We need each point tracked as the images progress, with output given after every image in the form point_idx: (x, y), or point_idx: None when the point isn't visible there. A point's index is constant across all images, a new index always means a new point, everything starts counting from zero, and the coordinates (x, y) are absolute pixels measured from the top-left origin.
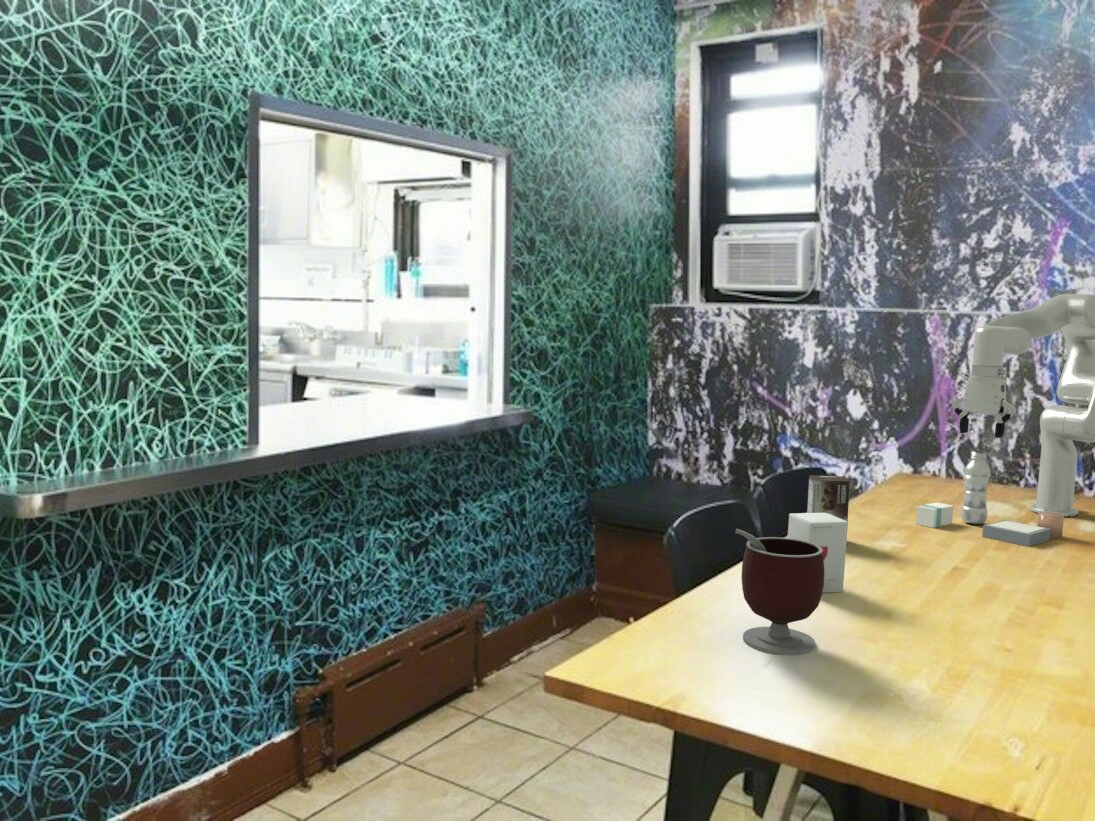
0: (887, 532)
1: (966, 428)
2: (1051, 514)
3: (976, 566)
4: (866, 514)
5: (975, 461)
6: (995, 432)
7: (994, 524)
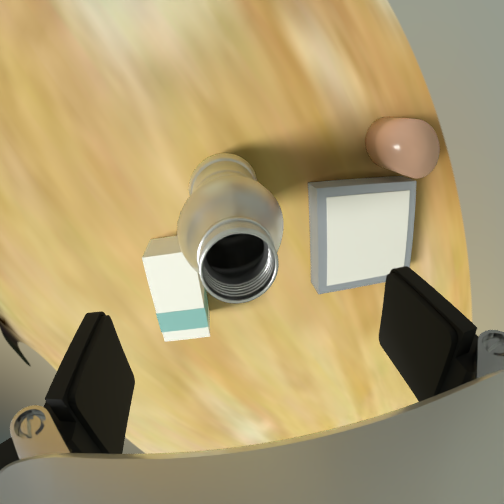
0: (200, 398)
1: (111, 361)
2: (418, 150)
3: (378, 408)
4: (68, 330)
5: (238, 276)
6: (396, 362)
7: (331, 268)
